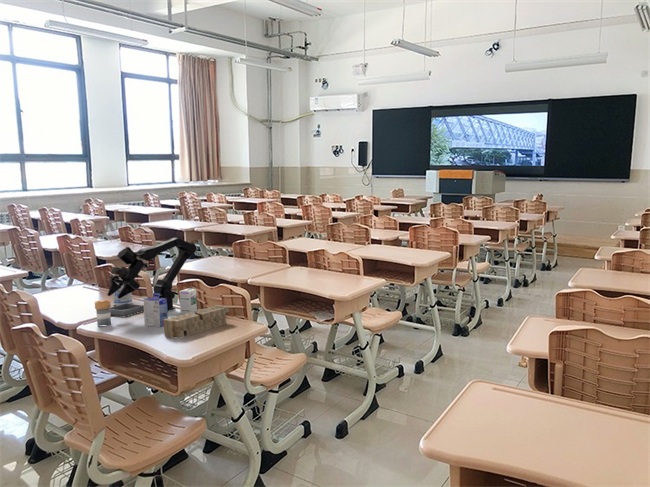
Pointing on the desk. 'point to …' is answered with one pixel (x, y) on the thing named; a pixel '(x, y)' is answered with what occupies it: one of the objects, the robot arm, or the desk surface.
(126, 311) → the lid tray
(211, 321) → the block tower
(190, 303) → the syrup box
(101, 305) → the snap cap
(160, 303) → the ink cartridge box
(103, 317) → the cylinder
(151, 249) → the robot arm
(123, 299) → the supplement tub
